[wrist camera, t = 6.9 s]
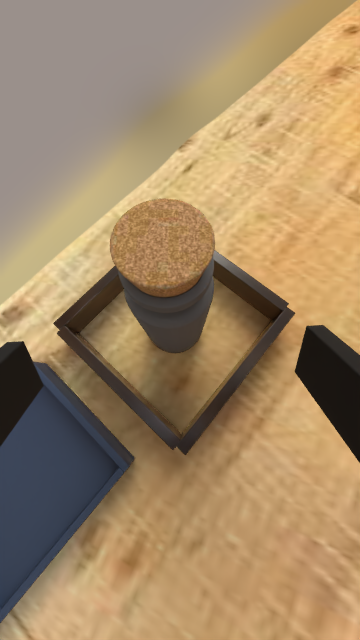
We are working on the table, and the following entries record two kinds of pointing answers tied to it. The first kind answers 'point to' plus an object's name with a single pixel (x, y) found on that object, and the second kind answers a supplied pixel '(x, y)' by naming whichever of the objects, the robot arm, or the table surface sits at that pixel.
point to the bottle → (166, 269)
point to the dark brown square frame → (155, 420)
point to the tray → (50, 482)
